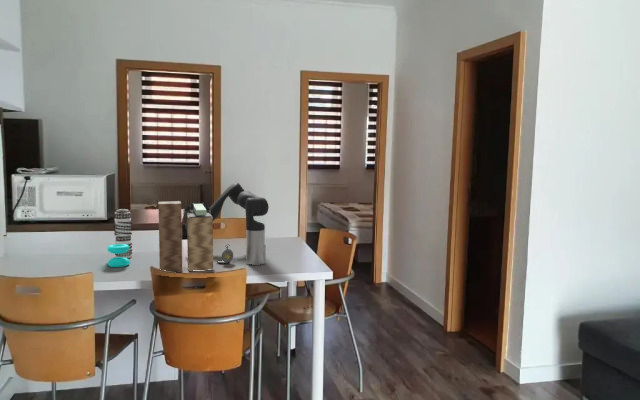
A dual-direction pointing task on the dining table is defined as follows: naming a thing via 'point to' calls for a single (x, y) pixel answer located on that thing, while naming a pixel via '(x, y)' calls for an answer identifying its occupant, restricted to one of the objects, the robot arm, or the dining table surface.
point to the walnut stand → (170, 236)
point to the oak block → (200, 241)
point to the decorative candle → (123, 231)
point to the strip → (199, 209)
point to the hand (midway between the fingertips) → (198, 204)
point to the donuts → (118, 260)
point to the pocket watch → (226, 255)
